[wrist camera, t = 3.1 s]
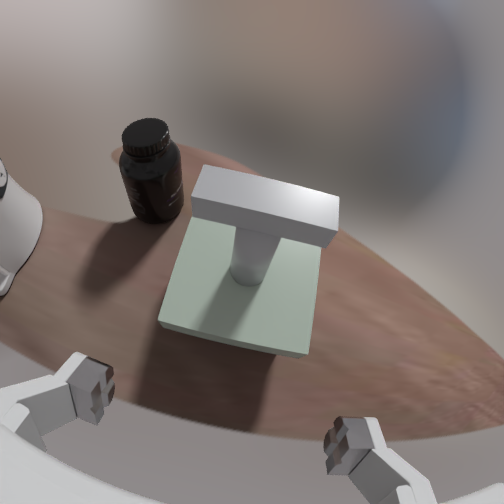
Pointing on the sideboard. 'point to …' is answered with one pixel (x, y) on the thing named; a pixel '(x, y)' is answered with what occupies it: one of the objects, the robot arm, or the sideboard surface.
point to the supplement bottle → (151, 171)
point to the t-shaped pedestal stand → (250, 262)
